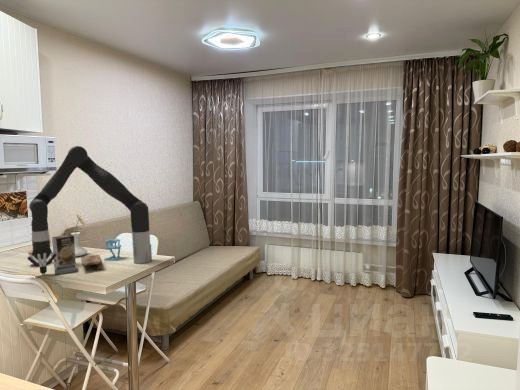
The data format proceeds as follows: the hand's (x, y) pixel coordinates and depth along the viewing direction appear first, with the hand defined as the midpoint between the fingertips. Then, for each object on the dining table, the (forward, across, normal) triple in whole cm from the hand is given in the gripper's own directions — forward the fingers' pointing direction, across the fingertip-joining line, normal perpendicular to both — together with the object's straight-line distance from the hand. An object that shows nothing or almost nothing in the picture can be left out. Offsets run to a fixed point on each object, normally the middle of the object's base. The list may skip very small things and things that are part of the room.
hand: (43, 273), depth 182 cm
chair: (+1, -34, -14) cm, 37 cm away
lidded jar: (+1, +2, -24) cm, 25 cm away
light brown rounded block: (+1, -22, 0) cm, 22 cm away
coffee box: (+1, -10, -14) cm, 17 cm away
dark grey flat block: (+1, -10, 0) cm, 10 cm away
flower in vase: (+1, -16, -34) cm, 38 cm away
